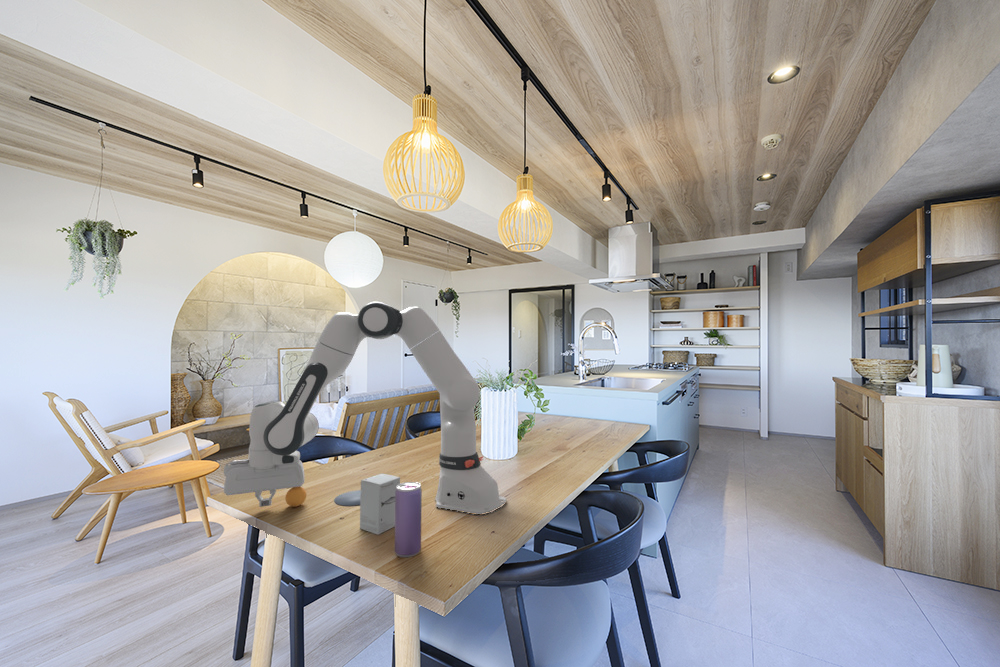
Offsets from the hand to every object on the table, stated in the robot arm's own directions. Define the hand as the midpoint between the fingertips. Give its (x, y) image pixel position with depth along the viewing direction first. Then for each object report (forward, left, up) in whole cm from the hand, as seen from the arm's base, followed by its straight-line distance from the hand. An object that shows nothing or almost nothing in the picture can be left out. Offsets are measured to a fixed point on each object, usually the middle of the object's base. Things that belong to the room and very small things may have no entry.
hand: (265, 505), depth 117 cm
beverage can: (-52, -7, -2) cm, 53 cm away
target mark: (-13, -21, -1) cm, 25 cm away
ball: (-4, -7, +1) cm, 8 cm away
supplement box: (-36, -12, -2) cm, 38 cm away
